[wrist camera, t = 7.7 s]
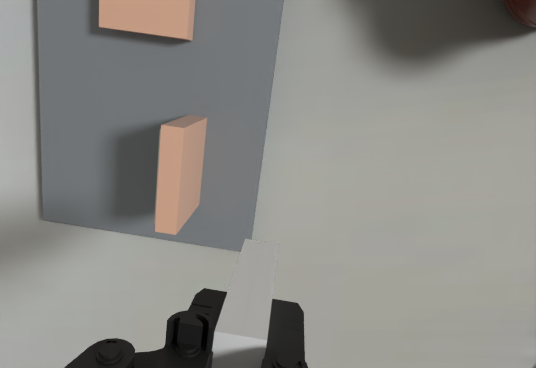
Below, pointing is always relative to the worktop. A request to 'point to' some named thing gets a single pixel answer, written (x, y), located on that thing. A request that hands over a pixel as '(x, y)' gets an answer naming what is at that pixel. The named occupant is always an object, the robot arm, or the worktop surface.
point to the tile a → (149, 17)
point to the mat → (154, 115)
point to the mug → (522, 11)
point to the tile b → (179, 172)
